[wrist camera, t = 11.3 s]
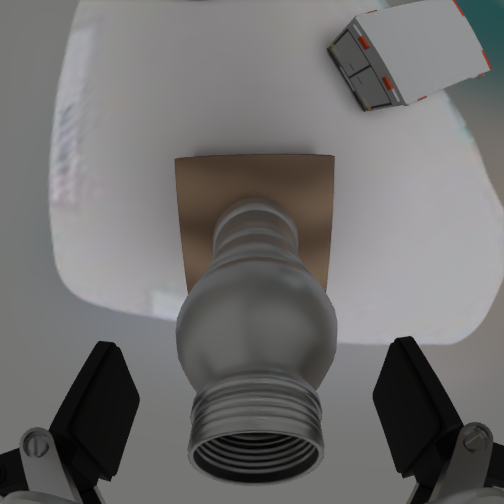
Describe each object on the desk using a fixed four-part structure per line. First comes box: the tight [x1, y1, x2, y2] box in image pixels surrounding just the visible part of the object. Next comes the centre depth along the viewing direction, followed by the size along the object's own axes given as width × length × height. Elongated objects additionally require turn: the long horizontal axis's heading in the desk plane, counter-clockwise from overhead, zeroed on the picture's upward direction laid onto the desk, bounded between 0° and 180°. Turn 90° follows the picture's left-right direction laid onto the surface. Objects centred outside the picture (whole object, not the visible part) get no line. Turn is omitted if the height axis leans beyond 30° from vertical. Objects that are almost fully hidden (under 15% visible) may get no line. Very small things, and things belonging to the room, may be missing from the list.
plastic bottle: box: [176, 197, 338, 486], centre depth 15 cm, size 6×7×20 cm
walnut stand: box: [175, 154, 335, 294], centre depth 28 cm, size 13×13×6 cm
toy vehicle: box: [327, 0, 491, 112], centre depth 19 cm, size 10×17×10 cm, turn 121°
